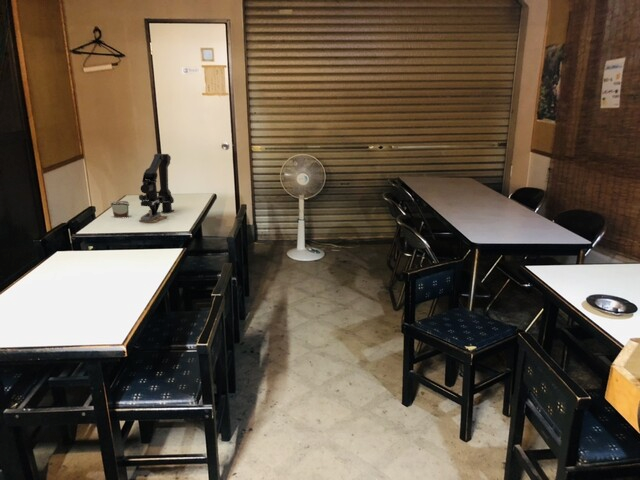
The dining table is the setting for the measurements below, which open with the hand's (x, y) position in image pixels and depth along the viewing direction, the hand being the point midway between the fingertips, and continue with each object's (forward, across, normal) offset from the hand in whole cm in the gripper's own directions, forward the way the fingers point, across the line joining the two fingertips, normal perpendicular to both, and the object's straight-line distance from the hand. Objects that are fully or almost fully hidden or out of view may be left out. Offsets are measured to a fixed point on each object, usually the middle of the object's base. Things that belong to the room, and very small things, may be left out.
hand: (154, 213), depth 324 cm
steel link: (+2, +4, 0) cm, 4 cm away
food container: (+4, -1, -26) cm, 26 cm away
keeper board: (+4, +2, 0) cm, 4 cm away
